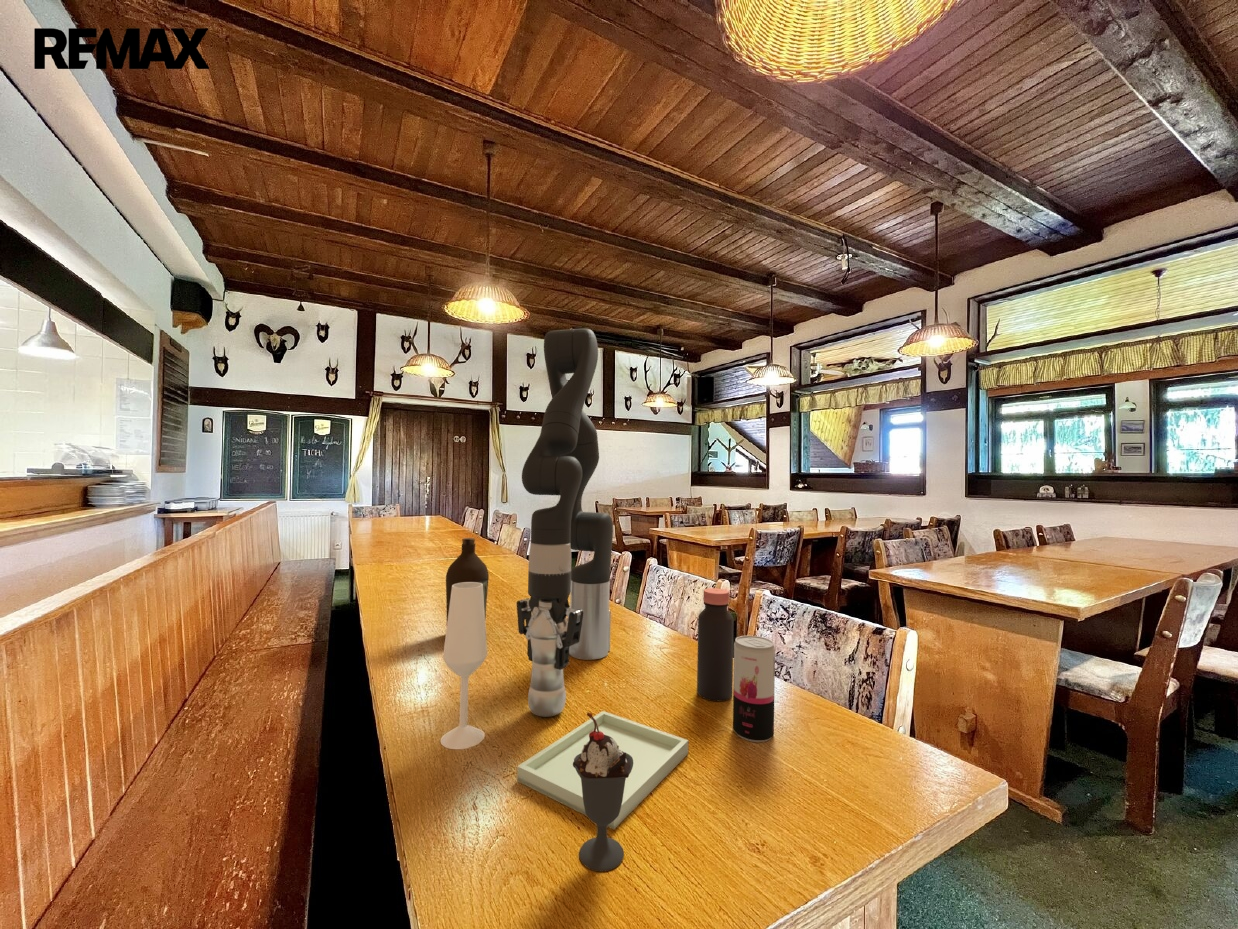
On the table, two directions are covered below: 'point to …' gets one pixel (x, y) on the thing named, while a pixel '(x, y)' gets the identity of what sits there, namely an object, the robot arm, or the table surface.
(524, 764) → the tray
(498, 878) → the table surface
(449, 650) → the champagne flute
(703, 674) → the dark grey water bottle
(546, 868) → the table surface
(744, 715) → the beverage can
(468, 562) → the olive oil
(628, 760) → the sundae
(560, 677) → the silver metal bottle
